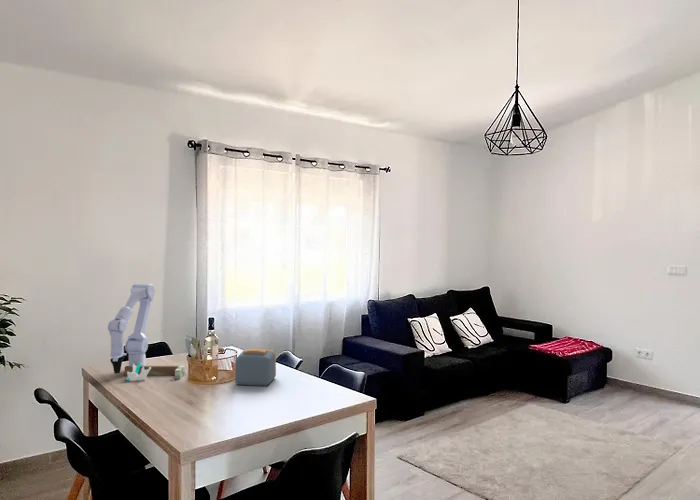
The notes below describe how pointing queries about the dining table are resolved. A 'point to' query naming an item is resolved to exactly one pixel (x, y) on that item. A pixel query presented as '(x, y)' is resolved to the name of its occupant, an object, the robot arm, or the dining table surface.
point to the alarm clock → (255, 367)
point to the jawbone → (134, 374)
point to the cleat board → (161, 370)
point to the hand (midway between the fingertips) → (117, 373)
